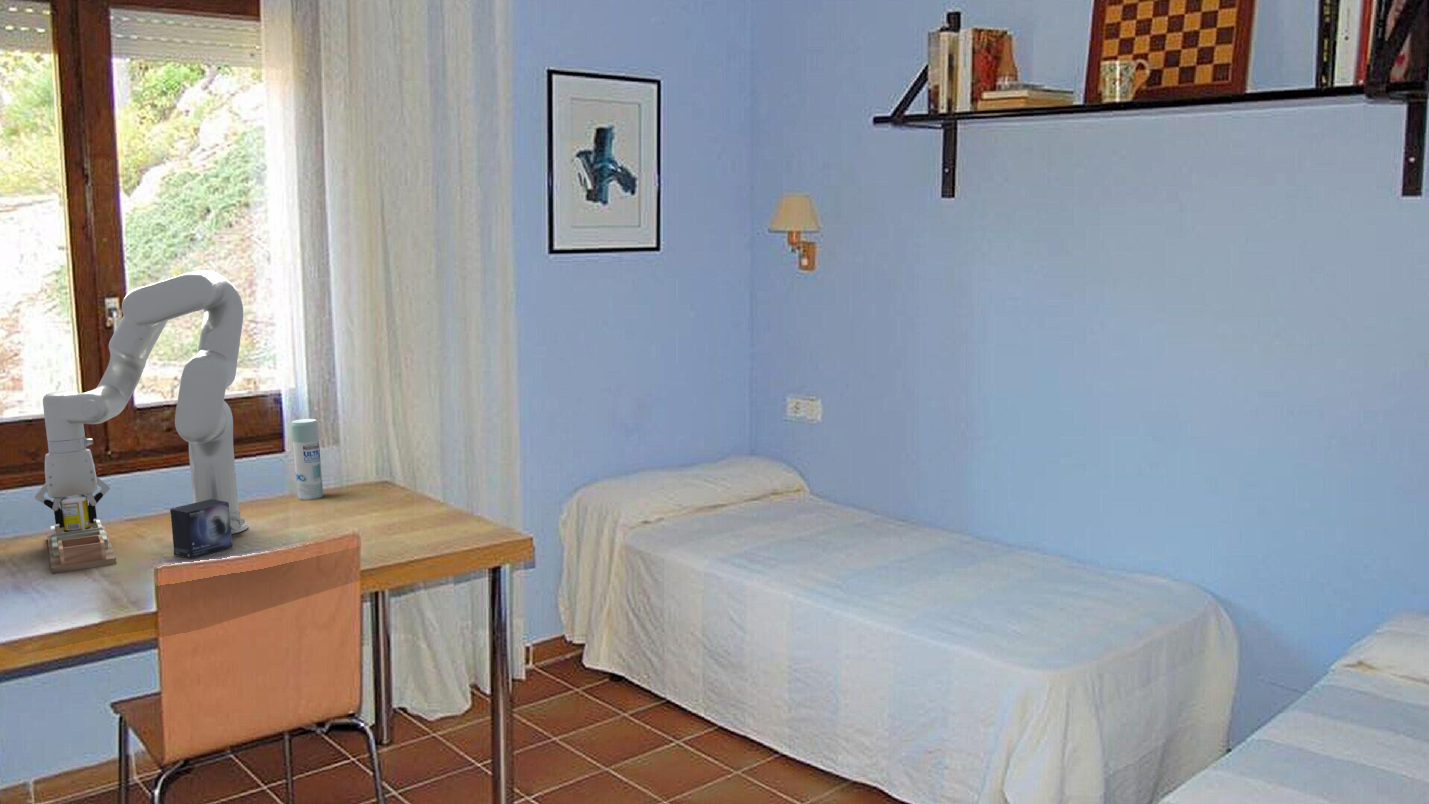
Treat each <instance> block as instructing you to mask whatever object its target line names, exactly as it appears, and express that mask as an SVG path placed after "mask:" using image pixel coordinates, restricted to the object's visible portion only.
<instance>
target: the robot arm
mask: <svg viewBox="0 0 1429 804" xmlns="http://www.w3.org/2000/svg"><path fill="white" fill-rule="evenodd" d="M243 305H244V304H243V301H242V297H241V295H240V293H239V292H238V290H237V288H236V287H235V286H234V284H233V283H232V282H231V281H229V280H228V279H227V278H226V277H224V276H223V275H221V274H219V273H217V272H215V271H212V270H196V271H191V272H186V273H182V274H179V275H177V276H173V277H170V278H167V279H164V280H160V281H158V282H155V283H152V284H148V285H145V286H140V287H137V288H134V289H131V290H130V291H129V292H128V293H127V294H126V295H125V297H123V300H122V303H121V311H122V314H123V316H122V318H121V320H120V321H119V324H118V325H117V327H116V329H115V331H114V333H113V335H112V336H111V338H110V339H109V342H108V350H109V355H110V356H109V361H108V364H107V367H106V370H105V372H104V373H103V375H102V377H101V379H100V381H99V383H98V384H97V387H96V388H93V389H91V390H88V391H86V392H79V393H78V392H77V391H73V390H64V391H63V390H61V391H55V392H54V391H53V392H49V393H46V394H45V395H44V396H43V398H42V406H43V407H42V409H43V414H44V415H43V417H44V423H45V431H46V433H45V434H46V439H47V447H48V453H46V454H45V456H44V477H45V483H44V484H43V485H42V486H41V487H40V489H39V490H38V492H37V493H36V494H34V498H35V500H36V501H37V502H40V503H42V504H44V505H45V506H46V507H48V508H49V509H51V510H52V511H53V513H54V520H55V525H59V527H60V528H62V527H63V521H62V513H61V507H60V501H61V498H64V497H68V496H73V495H85V496H86V497H87V500H88V508H89V516H90V523H94V520H98V518H97V507H96V506H97V504H98V503H99V501H100V500H101V499H102V498H103V497H104V496H105V495H106V494H107V493H108V492H109V491H110V489H111V487H110V485H108V483H106V482H104V481H103V480H102V479H101V478H100V477H98V476H97V474H96V467H95V466H96V465H95V463H94V458H93V455H92V451H91V449H90V448H87V447H88V446H90V445H94V440H93V438H87V437H86V435H85V433H86V431H85V427H84V426H85V425H98V424H103V423H105V422H108V421H109V420H111V419H112V418H115V417H117V416H118V415H120V414H121V413H122V412H123V410H125V408H126V406H127V405H128V403H129V401H130V400H131V397H132V395H133V394H134V391H135V390H136V388H137V386H138V384H139V383H140V380H141V377H142V375H143V372H144V369H145V367H146V364H147V361H148V358H149V356H150V354H151V352H152V351H153V348H154V347H155V344H156V343H157V341H158V339H159V337H160V335H161V334H162V332H163V331H164V328H166V324H167V323H168V321H170V320H173V319H176V318H180V317H182V316H186V315H190V314H193V313H195V312H198V311H203V321H202V325H201V329H200V336H199V343H198V347H197V348H198V349H197V351H196V355H194V356H193V357H191V358H190V359H189V360H188V361H187V362H186V363H185V365H184V367H183V370H182V372H181V376H180V383H179V388H178V395H177V400H176V401H177V403H176V406H175V407H176V409H175V413H174V416H175V417H174V426H175V429H176V432H177V433H178V436H180V438H181V439H182V440H184V441H186V442H188V459H189V466H190V467H189V470H190V480H191V489H192V498H193V499H192V501H193V503H197V502H201V501H205V500H210V499H214V500H219V501H224V502H229V514H230V526H231V535H234V534H238V533H241V532H243V531H246V530H247V529H248V526H249V523H248V522H247V521H246V520H245V519H244V518H242V517H241V511H240V506H239V505H240V504H239V496H238V486H237V485H238V483H237V476H236V465H235V464H236V463H235V460H236V459H235V450H234V419H233V413H232V409H231V407H230V406H229V404H228V402H227V401H225V397H226V396H225V395H226V390H227V389H228V388H229V387H230V386H231V385H232V384H233V382H234V381H235V378H236V374H237V366H238V359H239V351H240V347H241V337H242V332H243V331H242V329H243V325H244V324H243V323H244V322H243V321H244V306H243ZM98 487H100V490H98ZM97 490H98V492H97ZM96 492H97V493H96ZM94 493H95V495H93V494H94ZM45 494H47V495H48V497H49V498H51V499H53V501H52V500H51V499H49V498H47V497H46V496H45Z"/></svg>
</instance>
